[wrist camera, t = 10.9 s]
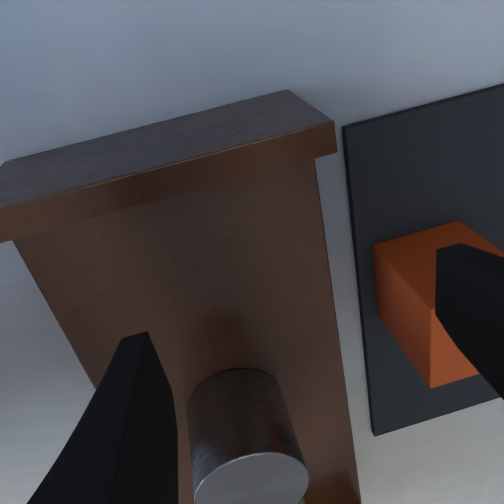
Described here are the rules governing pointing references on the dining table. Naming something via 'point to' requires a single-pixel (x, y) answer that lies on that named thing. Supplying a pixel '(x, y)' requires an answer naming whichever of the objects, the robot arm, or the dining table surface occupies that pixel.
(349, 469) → the shelf
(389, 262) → the rust block
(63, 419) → the dining table surface
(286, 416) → the steel tin
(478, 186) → the mat
